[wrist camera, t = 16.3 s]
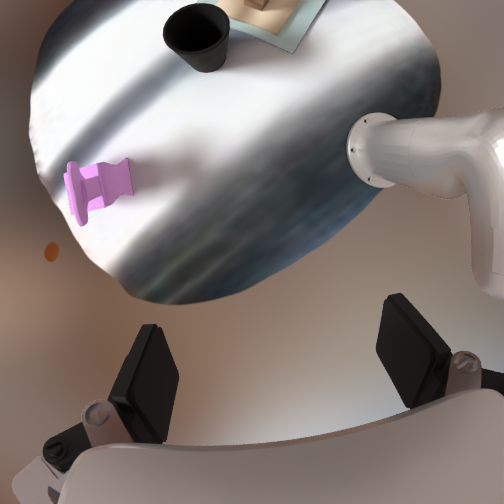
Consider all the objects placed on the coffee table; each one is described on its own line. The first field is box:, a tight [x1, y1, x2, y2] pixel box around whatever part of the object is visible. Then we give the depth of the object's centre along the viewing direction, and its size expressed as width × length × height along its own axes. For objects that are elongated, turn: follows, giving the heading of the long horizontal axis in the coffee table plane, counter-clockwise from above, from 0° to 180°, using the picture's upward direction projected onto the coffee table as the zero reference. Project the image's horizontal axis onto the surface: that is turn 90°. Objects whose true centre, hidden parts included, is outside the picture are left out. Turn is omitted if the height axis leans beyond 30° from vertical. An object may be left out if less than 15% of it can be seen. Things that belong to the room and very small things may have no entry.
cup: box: [163, 3, 230, 73], centre depth 28 cm, size 8×8×12 cm
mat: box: [197, 0, 325, 54], centre depth 29 cm, size 18×14×1 cm
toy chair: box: [64, 158, 133, 226], centre depth 33 cm, size 8×9×15 cm
